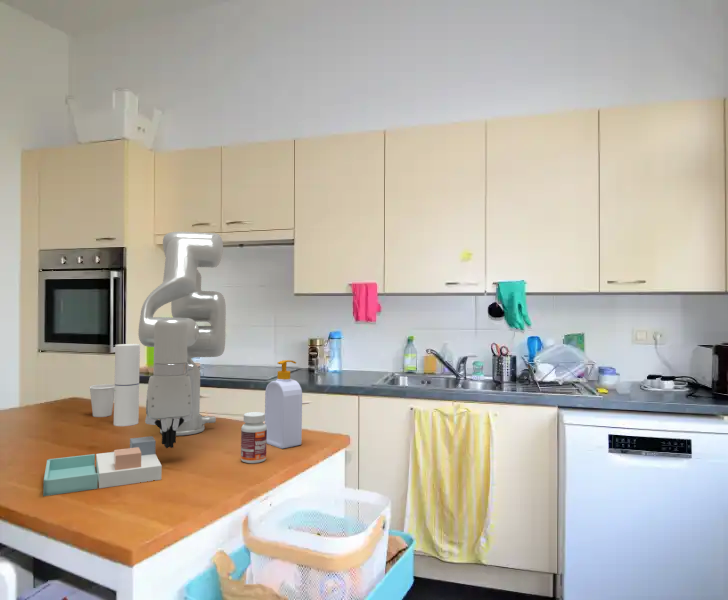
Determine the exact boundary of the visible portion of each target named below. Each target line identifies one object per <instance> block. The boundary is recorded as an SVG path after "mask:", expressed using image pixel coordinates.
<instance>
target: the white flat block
mask: <svg viewBox="0 0 728 600" xmlns="http://www.w3.org/2000/svg"><path fill="white" fill-rule="evenodd" d="M162 468H163V466H162V464H161V462H160V459H158V456H157V454H156V453H155V454H150V455H142V456H141V467H137V468H129V469H121V470H115V467H114V451H111V452H102V453H96V454H95V471H96V473H98V483H97V486H98V489H104V488H111V487H119V486H125V485H130V484H131V485H132V484H139V483H140V482H141V483H146V482H147V481H148V482H152V481H153V480H155V481H161V480H162V474H163V473H162Z"/></svg>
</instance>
